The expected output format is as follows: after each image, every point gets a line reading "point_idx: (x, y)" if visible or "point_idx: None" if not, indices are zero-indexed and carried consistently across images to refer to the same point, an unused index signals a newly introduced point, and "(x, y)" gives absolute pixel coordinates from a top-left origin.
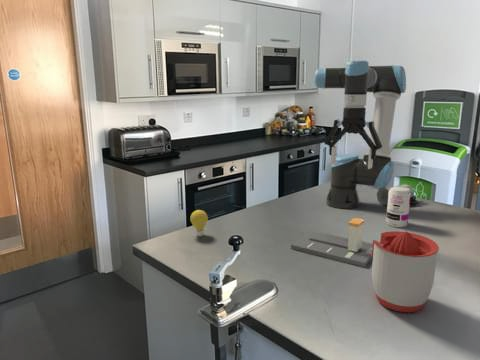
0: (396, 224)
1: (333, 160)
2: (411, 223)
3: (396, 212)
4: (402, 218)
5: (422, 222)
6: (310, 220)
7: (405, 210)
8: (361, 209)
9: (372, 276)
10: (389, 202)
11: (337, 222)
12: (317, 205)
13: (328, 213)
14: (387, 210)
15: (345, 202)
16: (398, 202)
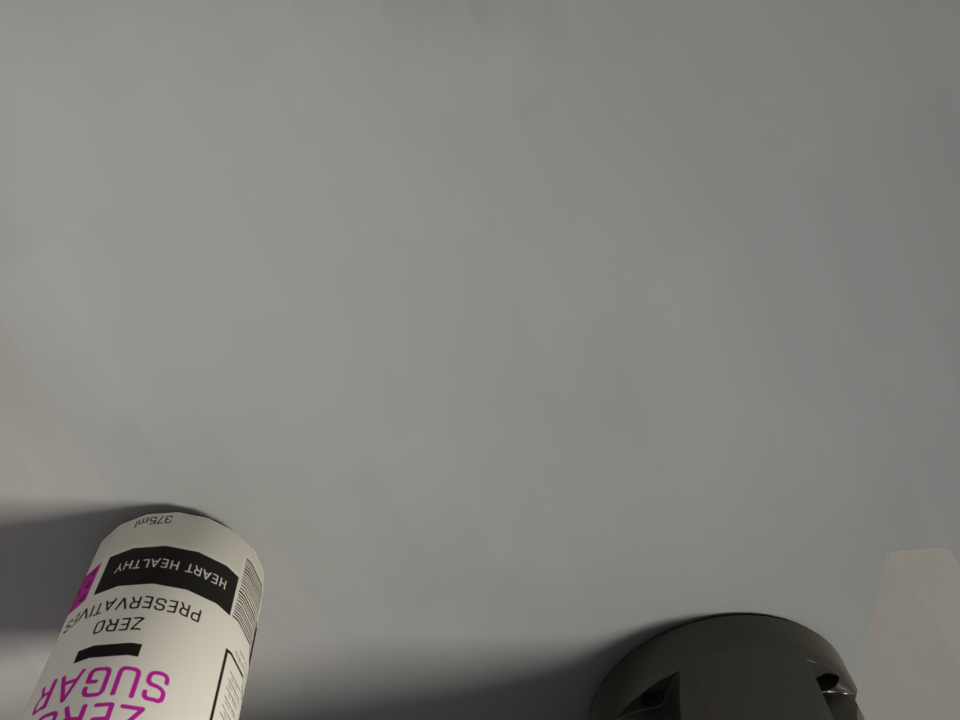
0: (140, 525)
1: (943, 665)
2: None
3: (118, 600)
4: (87, 582)
5: None
6: (839, 249)
7: (52, 651)
8: (544, 684)
9: None
10: (185, 674)
11: (600, 346)
12: None
13: (747, 483)
14: (226, 619)
15: (675, 680)
16: (77, 682)
